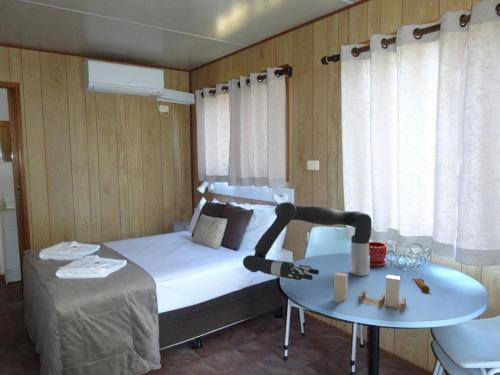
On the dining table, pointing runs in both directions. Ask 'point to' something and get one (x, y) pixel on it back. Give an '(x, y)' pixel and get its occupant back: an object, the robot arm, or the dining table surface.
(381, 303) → the rack
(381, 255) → the plant pot
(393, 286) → the tall square post
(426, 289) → the primitive tool
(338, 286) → the beige rectangular block
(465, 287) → the dining table surface
